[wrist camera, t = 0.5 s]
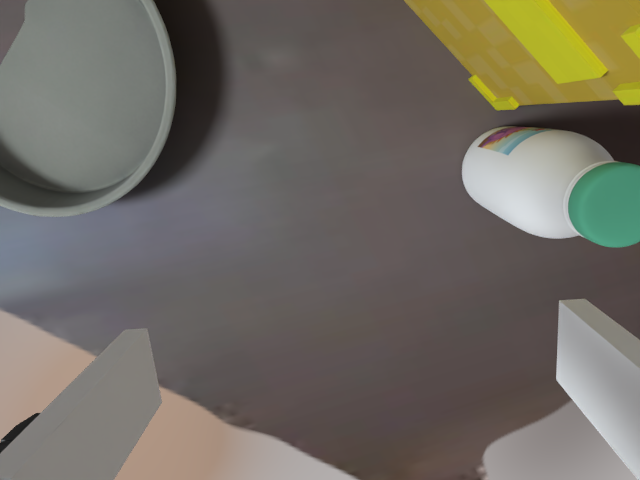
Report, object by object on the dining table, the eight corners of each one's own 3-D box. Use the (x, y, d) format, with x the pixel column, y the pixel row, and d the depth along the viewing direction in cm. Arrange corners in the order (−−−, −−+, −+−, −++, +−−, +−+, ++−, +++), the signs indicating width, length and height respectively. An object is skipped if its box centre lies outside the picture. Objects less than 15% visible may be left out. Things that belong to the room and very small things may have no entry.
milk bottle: (524, 218, 46) (660, 293, 26) (448, 195, 45) (527, 254, 26) (557, 139, 44) (728, 157, 24) (477, 115, 43) (586, 114, 24)
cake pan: (187, -67, 41) (168, -88, 37) (195, 213, 47) (180, 223, 43) (-90, -74, 42) (-141, -96, 37) (-46, 202, 48) (-85, 211, 44)
